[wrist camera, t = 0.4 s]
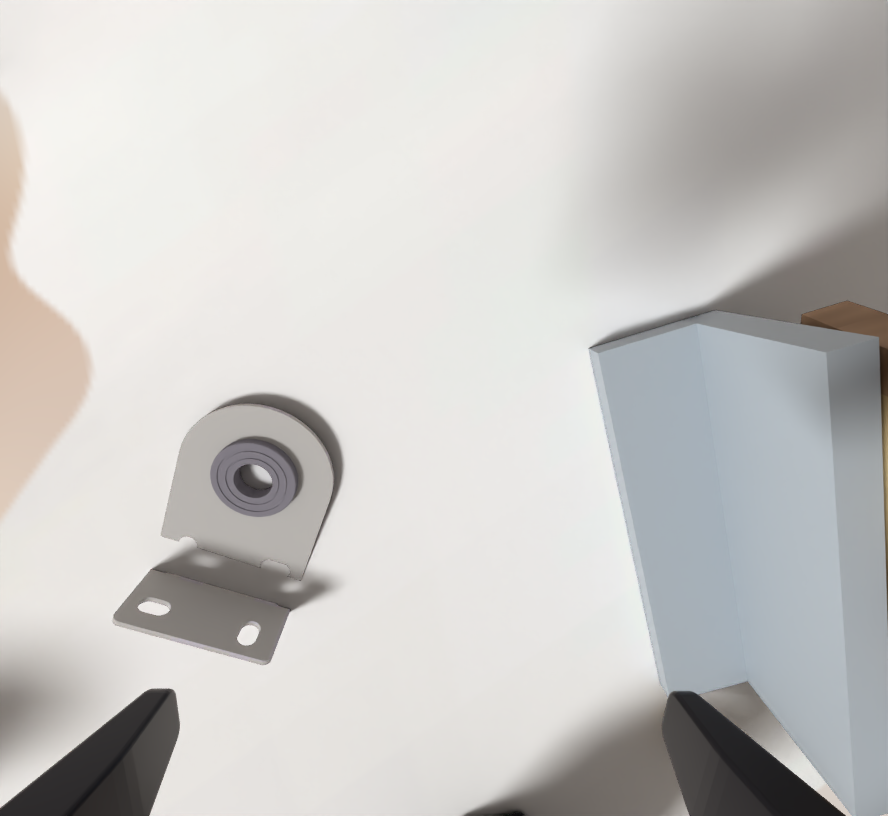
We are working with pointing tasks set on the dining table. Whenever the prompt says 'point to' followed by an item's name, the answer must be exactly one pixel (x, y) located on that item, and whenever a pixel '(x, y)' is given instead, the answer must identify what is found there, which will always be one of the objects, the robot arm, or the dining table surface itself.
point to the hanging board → (761, 524)
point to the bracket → (236, 526)
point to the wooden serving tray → (884, 327)
